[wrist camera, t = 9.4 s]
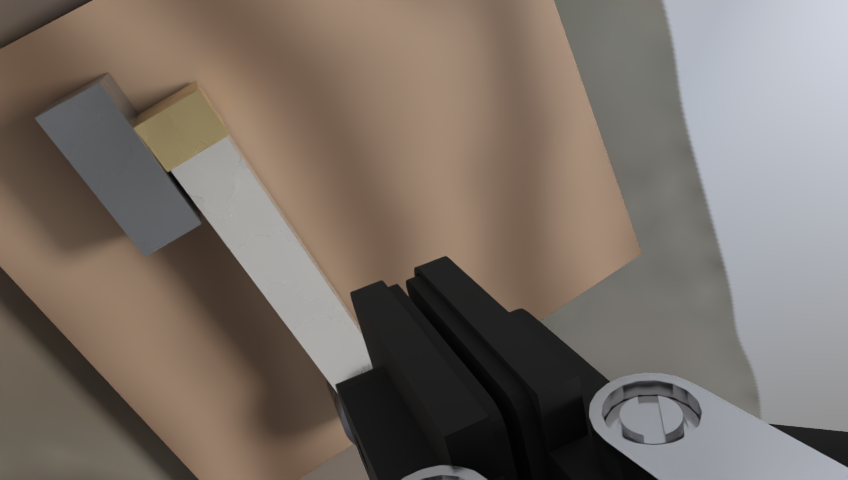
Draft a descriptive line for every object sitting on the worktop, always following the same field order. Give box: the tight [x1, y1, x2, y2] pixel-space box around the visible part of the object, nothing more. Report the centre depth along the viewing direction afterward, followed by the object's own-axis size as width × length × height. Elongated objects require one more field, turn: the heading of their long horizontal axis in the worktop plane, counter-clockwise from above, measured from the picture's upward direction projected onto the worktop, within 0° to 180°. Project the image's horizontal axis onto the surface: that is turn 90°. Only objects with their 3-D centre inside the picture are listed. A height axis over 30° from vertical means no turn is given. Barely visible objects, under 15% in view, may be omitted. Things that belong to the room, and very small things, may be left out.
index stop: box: [35, 72, 202, 257], centre depth 21 cm, size 2×5×4 cm, turn 26°
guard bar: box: [134, 80, 373, 445], centre depth 24 cm, size 15×3×3 cm, turn 28°
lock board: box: [0, 0, 642, 480], centre depth 26 cm, size 22×20×2 cm
